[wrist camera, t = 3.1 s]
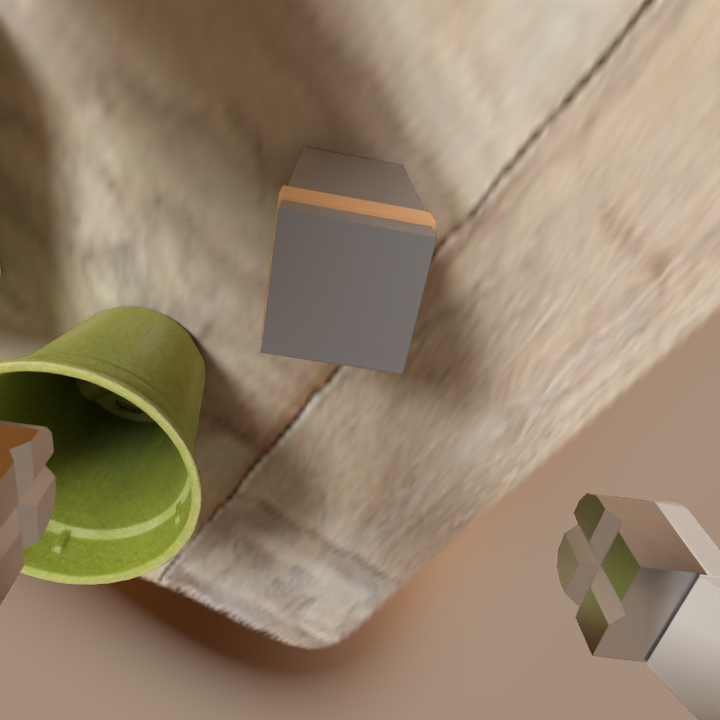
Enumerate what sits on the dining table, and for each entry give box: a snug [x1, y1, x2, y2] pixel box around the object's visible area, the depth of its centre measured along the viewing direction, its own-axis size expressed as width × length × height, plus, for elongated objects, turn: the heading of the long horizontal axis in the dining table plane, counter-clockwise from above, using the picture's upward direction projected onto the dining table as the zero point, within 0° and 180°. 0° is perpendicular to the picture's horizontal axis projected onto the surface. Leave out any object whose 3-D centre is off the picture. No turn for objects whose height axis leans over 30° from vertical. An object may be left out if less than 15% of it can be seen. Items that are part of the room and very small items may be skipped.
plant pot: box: [0, 306, 206, 584], centre depth 24 cm, size 9×9×9 cm
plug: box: [261, 147, 437, 374], centre depth 20 cm, size 4×4×10 cm
